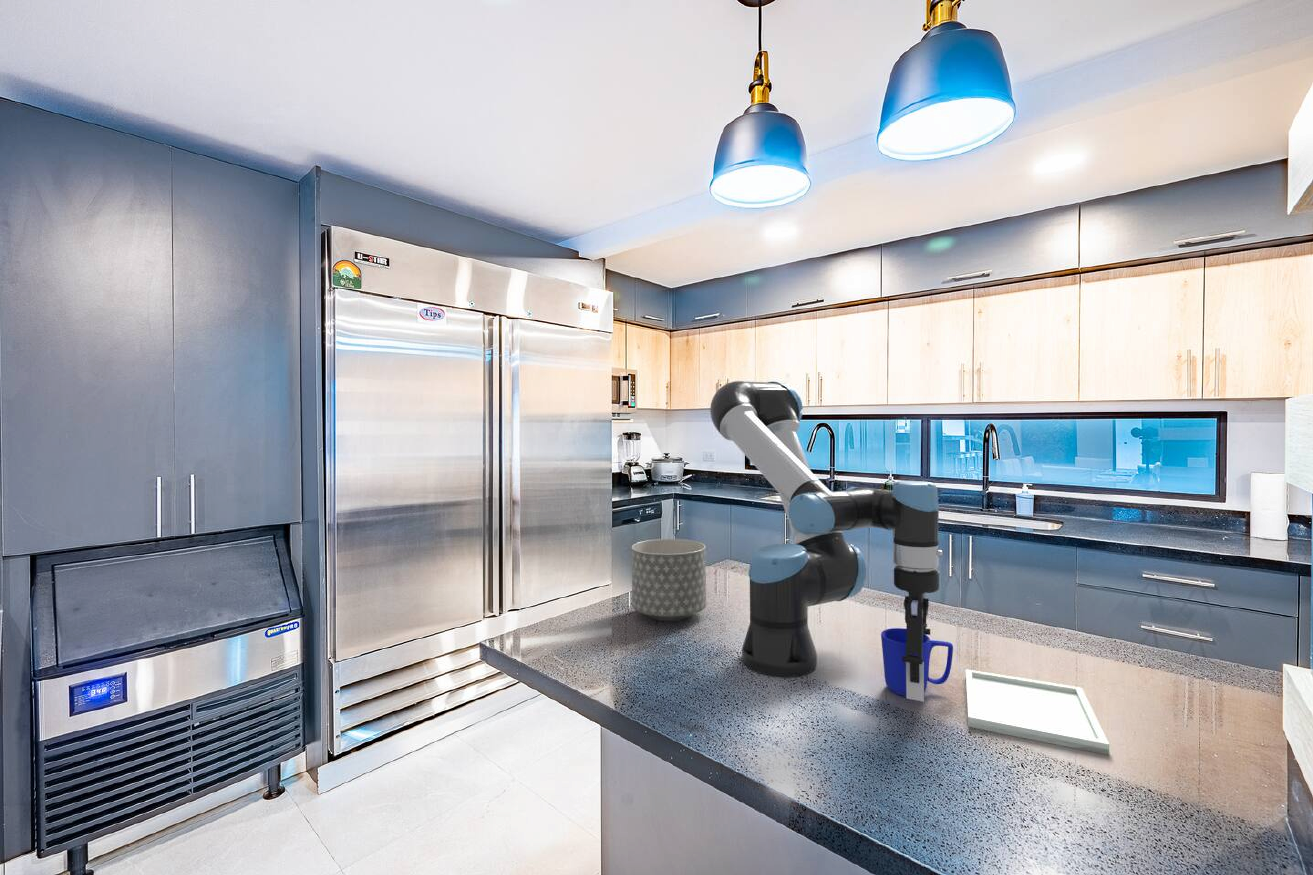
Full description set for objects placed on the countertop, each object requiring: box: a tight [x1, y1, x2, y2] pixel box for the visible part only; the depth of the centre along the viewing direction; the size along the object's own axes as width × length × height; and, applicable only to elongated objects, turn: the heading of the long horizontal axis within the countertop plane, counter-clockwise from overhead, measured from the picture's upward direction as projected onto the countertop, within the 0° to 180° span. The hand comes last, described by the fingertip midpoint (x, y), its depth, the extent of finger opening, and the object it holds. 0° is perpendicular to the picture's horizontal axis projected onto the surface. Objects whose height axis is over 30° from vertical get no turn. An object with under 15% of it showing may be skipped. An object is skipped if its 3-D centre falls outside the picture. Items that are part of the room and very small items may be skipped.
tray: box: [965, 668, 1110, 756], centre depth 96 cm, size 18×20×2 cm
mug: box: [880, 627, 954, 697], centre depth 104 cm, size 8×12×10 cm
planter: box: [631, 538, 707, 622], centre depth 147 cm, size 19×19×18 cm
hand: (917, 683), depth 104 cm, fingers open, 13 cm apart
